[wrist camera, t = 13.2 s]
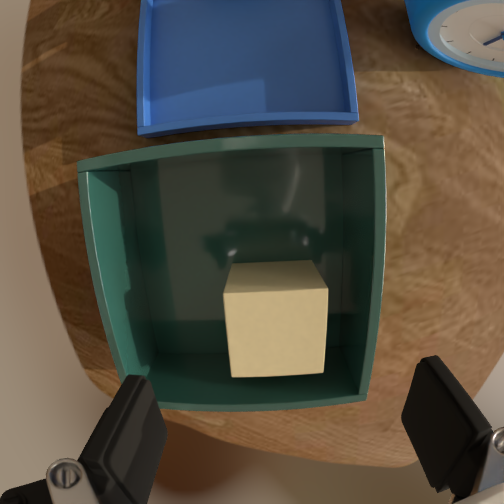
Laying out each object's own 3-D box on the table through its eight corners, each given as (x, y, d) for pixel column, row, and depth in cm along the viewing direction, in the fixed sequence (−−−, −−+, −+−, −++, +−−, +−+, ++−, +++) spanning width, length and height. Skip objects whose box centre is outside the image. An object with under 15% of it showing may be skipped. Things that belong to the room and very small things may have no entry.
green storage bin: (126, 162, 18) (76, 161, 12) (346, 146, 18) (384, 135, 12) (155, 354, 22) (129, 405, 16) (343, 348, 21) (366, 400, 15)
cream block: (231, 263, 19) (222, 293, 14) (311, 259, 19) (328, 288, 14) (237, 333, 20) (231, 377, 15) (310, 330, 20) (323, 373, 15)
